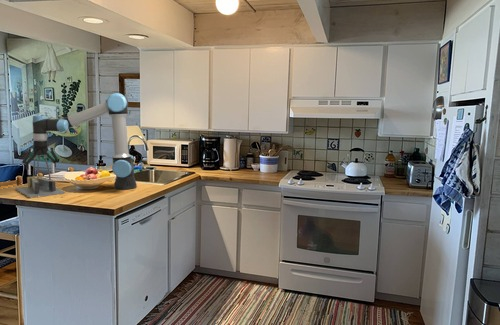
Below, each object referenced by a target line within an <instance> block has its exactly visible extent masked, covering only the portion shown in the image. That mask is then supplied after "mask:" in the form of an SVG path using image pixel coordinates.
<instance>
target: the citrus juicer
mask: <svg viewBox="0 0 500 325" xmlns="http://www.w3.org/2000/svg"><path fill="white" fill-rule="evenodd" d="M43 157H44V158H43V159H44V161H45V164H46V168H47V172H48V180H52V179H51V172H50V167H49V162H48V158H47V156H46V155H43ZM41 158H42V155H37V156H35V157H34V159H33V168H32V170H33V171H32V177H33V176H35V172H37V176H40V175H39V170H40V169H39V167H40V166H39V160H41ZM36 159H37V162H36ZM36 164H37V171H35V170H36V168H35V167H36Z"/></svg>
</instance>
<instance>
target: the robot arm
mask: <svg viewBox="0 0 500 325" xmlns="http://www.w3.org/2000/svg"><path fill="white" fill-rule="evenodd" d="M128 107H129V100H128V98H127V96H125V95H124V94H122V93H119V92H116V93H114V92H113V93H112V94H110V95H108V97H107V99H106V100H104V102H102V103H100V104H97V105H95V106H91V107H90V108H87V109H84V110H81V111H79V112H76V113H73V114H71V115H67V116H65V117H63V118H59V119H58V118H55V119H54V118H51V119H50V118H47V115H39V114H38V115H37V114H35V115H33V116H32V139H33V141H32V144H33V145H32V146H33V148H29V147H28V148H27V151H26V154H25V156H24V157H23V159H22V161H21V163H22V164H25V169H26V170H27V175H28V176H31V175H32V174H31V164H30V163H31V162H32V161H34V157H35V156H36V157H38V155H41V156H44V155H46V158H47V159H49V160H50V162H51V173H52V174H55V169H56V168H57V163H58V162H60V160H59V158H58V156H57V155H56V153H55V152H54V148H53V147H48V132H61V133H62V132H67V131H69V130H70V129H71V128H73V127H74V128H75V127H76V126H79V125H82V124H85V123H87V122H90V121H92V120H94V119H98V118H100V117H103V116H105V115H109V117H111V126H112V137H113V138H112V139H113V149H114V150H113V151H114V154H113V155H112V167H111V169H112V173H113V174H114V175H115V176H116V178H115V181H114V183H113V188H114V189H116V190H120V191H121V190H124V191H126V190H133V189H136V188H137V187H138V185H137V182H136V179H135V178H136V177H135V162H134V161H135V157H134V156H133V155H131V154H129V144H128V143H129V142H128V131H127V120H126V118H127V117H128V114H129V113H128ZM48 151H49V152H50V153H51V154H49V152H48ZM32 152H33V154H32V155H31V153H32ZM30 155H31V156H30ZM51 155H52V156H51Z"/></svg>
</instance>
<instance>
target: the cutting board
mask: <svg viewBox="0 0 500 325" xmlns="http://www.w3.org/2000/svg"><path fill="white" fill-rule="evenodd" d="M15 191H17V192H18V191H19V192H18V193H20V192H21V193H20V194H22V193H23V194H25V195H26V196H25V195H24V196H25V197H27V196H28V197H30V198H29V199H32V198H31V197H37V198H39V197H38V196H44V197H48V196H47V195H52V196H57V195H56V194H59V195H65V194H66V191H64V190H62V189H60V188H58V187H56V191H50V190H47V189H43V188H39V193H35V191H34V190H33V188H28V186H22V187H16V188H15ZM64 193H65V194H64ZM23 194H22V195H23ZM28 197H27V198H28Z"/></svg>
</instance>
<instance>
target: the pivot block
mask: <svg viewBox="0 0 500 325" xmlns="http://www.w3.org/2000/svg"><path fill="white" fill-rule="evenodd" d="M32 178H35V179H36V180H37V178H42V176H40V175H39V176H38V175H34V176H33V175H32V176H27V177H26V180H27V187H28V188H32Z"/></svg>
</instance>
